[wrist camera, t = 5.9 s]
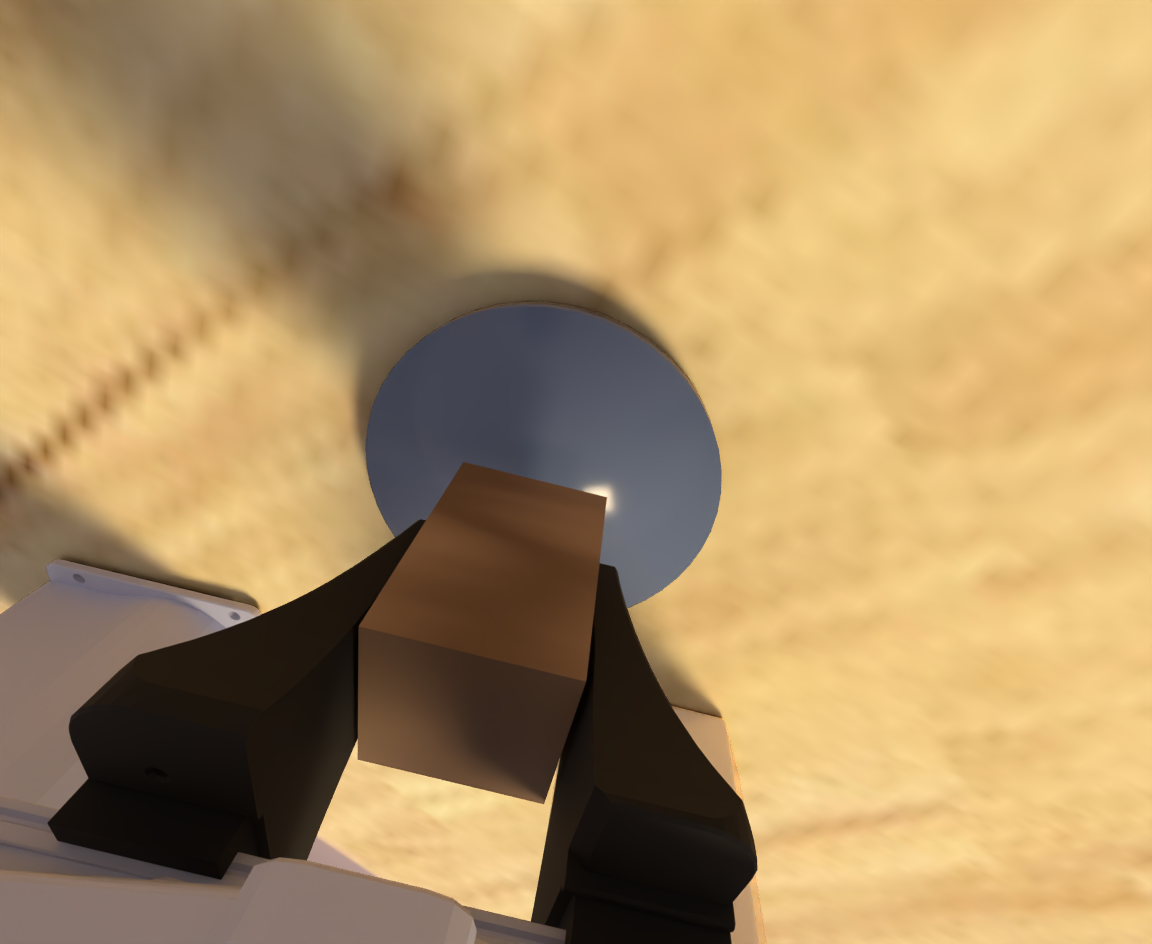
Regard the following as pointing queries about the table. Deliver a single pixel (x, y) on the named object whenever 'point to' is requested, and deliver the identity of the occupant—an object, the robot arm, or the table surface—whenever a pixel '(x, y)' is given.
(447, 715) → the walnut block
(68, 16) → the table surface
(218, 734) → the robot arm
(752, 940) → the jar
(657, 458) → the blue-grey round disc
